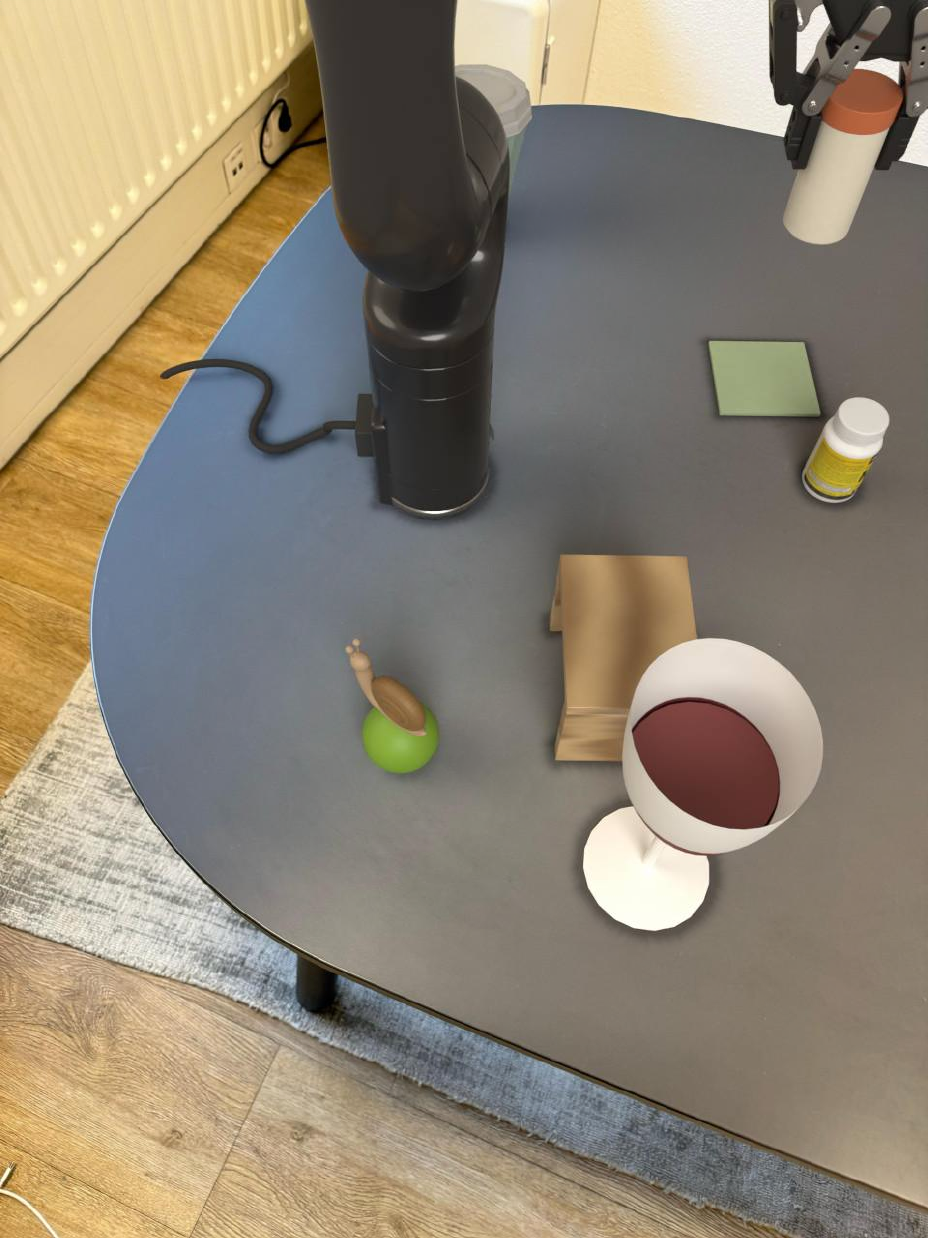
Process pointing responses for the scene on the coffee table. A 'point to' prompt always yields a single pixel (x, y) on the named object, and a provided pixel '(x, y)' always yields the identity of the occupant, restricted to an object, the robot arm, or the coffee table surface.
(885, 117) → the spice bottle
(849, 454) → the supplement bottle
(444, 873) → the coffee table surface
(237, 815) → the coffee table surface
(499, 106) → the disposable coffee cup
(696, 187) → the coffee table surface
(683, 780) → the wineglass
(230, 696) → the coffee table surface
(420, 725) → the snail figurine
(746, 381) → the mat
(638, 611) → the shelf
